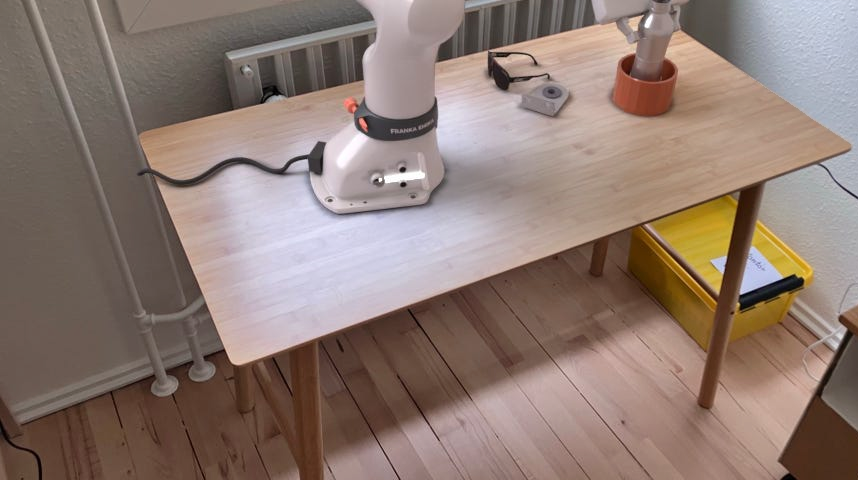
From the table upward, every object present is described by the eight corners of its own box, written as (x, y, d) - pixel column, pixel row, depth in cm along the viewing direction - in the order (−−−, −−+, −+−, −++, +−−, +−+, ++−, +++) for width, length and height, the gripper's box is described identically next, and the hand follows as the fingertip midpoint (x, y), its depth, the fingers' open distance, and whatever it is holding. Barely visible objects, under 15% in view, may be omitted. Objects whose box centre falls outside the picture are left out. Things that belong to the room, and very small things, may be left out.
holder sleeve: (632, 120, 156) (638, 88, 151) (602, 90, 163) (607, 58, 158) (682, 109, 160) (689, 76, 155) (650, 80, 167) (656, 48, 162)
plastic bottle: (617, 92, 162) (634, -5, 148) (646, 85, 164) (665, -12, 150) (637, 109, 158) (656, 10, 144) (665, 101, 160) (687, 3, 146)
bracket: (573, 93, 162) (575, 77, 160) (552, 118, 156) (554, 102, 153) (542, 84, 164) (544, 68, 162) (520, 108, 158) (522, 92, 155)
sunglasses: (478, 69, 167) (481, 46, 164) (530, 65, 172) (535, 43, 169) (499, 95, 160) (504, 72, 157) (553, 91, 165) (559, 68, 162)
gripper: (593, -34, 144) (618, 43, 145) (685, -53, 152) (708, 19, 153) (575, -19, 150) (599, 54, 151) (664, -39, 158) (687, 31, 159)
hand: (655, 37), depth 152 cm, fingers open, 8 cm apart
